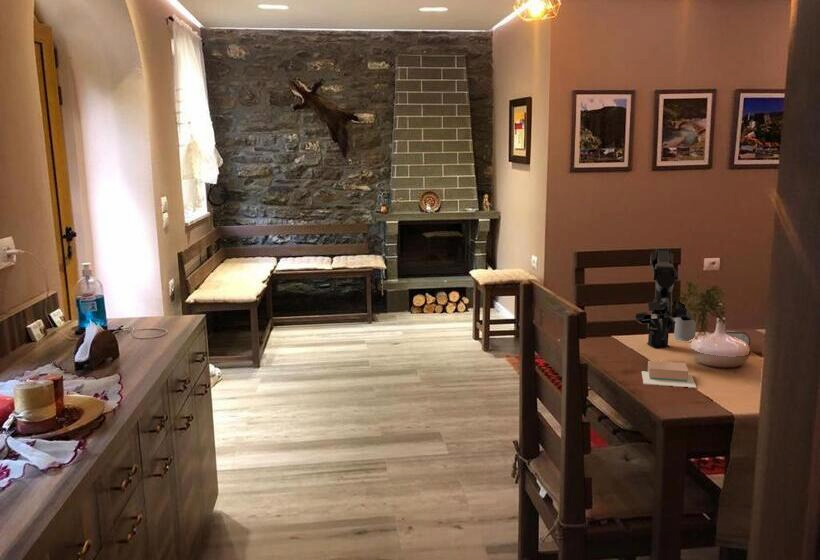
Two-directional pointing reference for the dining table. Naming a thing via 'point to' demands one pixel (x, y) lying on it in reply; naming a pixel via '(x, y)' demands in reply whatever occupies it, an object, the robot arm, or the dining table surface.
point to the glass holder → (684, 327)
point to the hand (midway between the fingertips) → (662, 339)
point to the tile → (667, 371)
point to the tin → (739, 335)
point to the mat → (668, 381)
